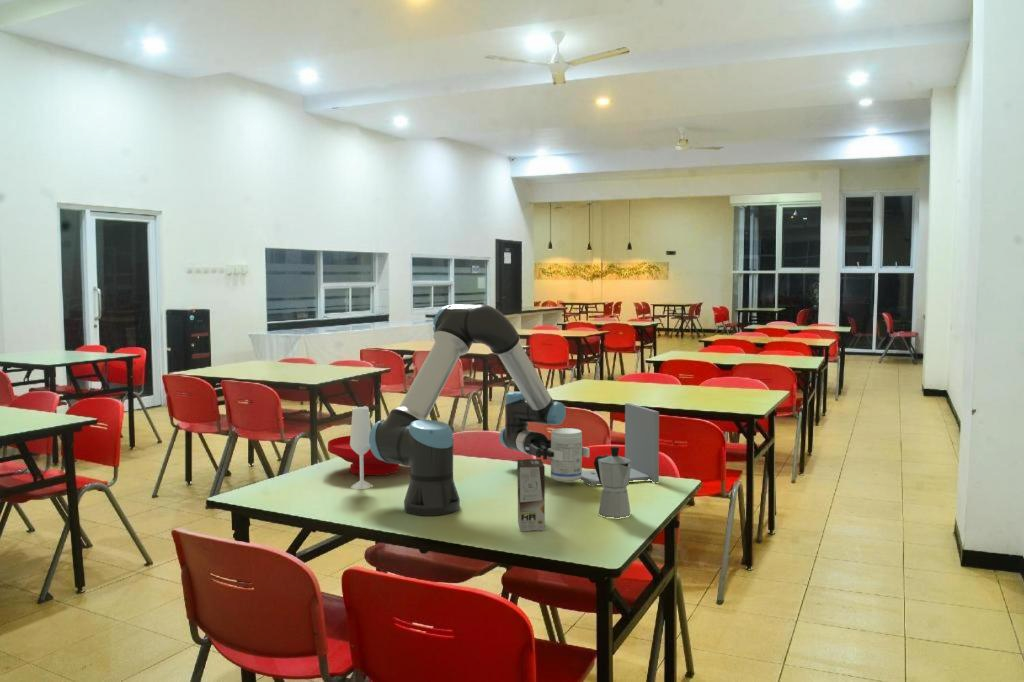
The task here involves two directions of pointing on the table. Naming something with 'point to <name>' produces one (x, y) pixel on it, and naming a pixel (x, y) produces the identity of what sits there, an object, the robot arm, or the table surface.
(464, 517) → the table surface
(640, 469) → the socket stand
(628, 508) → the coffee maker
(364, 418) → the champagne flute
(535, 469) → the coffee box
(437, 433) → the robot arm
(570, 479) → the supplement tub
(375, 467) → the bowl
